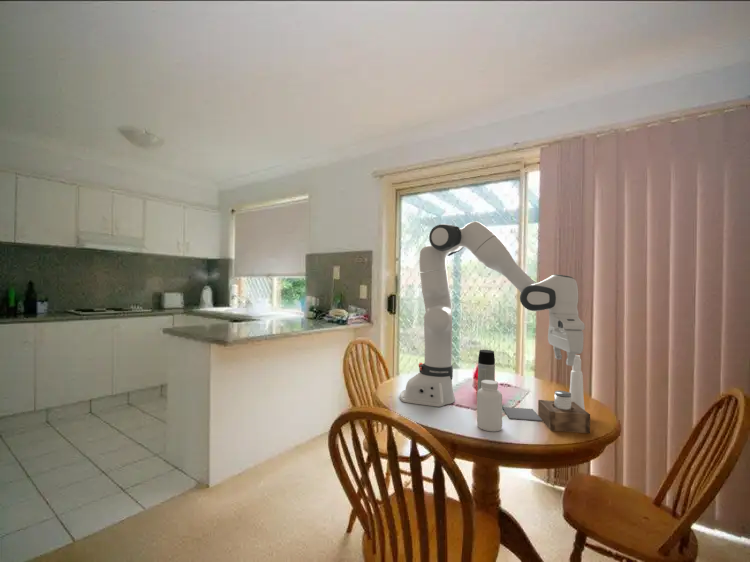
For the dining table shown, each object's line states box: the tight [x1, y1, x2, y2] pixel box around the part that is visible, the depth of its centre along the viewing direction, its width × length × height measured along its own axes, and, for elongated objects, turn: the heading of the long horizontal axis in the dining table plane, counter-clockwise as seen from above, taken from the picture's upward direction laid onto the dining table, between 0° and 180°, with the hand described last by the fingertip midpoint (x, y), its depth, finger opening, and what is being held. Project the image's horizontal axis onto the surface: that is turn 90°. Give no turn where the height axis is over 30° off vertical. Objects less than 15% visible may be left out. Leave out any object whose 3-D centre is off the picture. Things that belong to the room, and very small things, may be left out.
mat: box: [502, 406, 543, 422], centre depth 124 cm, size 11×11×1 cm
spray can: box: [477, 349, 496, 391], centre depth 141 cm, size 7×7×20 cm
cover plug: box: [554, 390, 571, 410], centre depth 116 cm, size 5×5×11 cm
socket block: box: [537, 399, 591, 434], centre depth 116 cm, size 12×12×6 cm
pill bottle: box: [476, 380, 503, 432], centre depth 113 cm, size 8×8×15 cm
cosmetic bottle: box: [569, 354, 586, 411], centre depth 125 cm, size 6×6×22 cm
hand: (563, 362), depth 116 cm, fingers open, 8 cm apart
